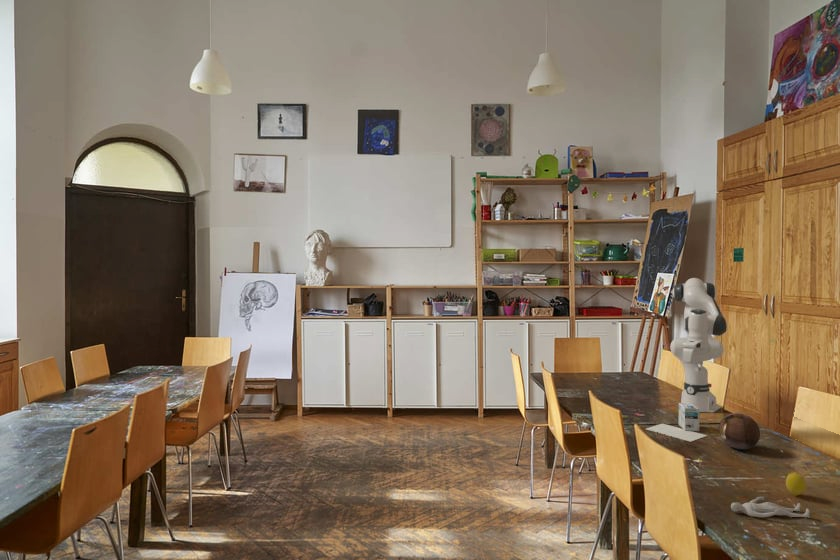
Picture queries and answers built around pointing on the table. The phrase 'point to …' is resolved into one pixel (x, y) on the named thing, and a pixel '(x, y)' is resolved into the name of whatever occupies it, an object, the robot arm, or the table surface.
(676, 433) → the mat
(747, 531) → the table surface
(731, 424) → the wooden sphere
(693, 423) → the light bulb box
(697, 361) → the robot arm
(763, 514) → the male figure
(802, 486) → the lemon
